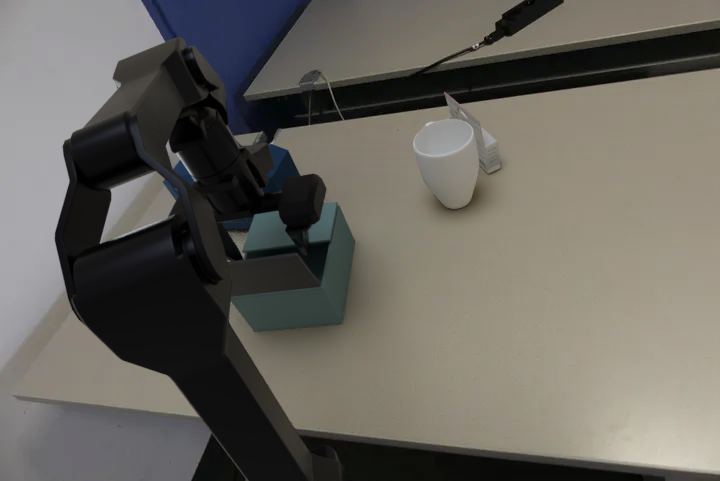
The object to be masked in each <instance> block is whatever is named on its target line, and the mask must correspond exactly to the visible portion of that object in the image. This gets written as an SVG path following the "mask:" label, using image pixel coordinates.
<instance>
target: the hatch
mask: <svg viewBox="0 0 720 481" xmlns="http://www.w3.org/2000/svg"><path fill="white" fill-rule="evenodd" d="M228 265H229V274H230V276H231V278H232V291H231V297H234V296H243V295H252V294H261V293H270V292H279V291H289V290H298V289H307V288H316V287H321V284H320V282H319V281H318V280H317V278H316V277H315V276H314V275H313V273H312V272H311V271H310V269H309V268H308V267H307V265H306V264H305V263H304V261H303V260H302V259H301V257H300V256H299V255H298V254H297V253H290V254H283V255H275V256H268V257H260V258H252V259H245V260H237V261H228Z"/></svg>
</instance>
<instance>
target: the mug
mask: <svg viewBox="0 0 720 481" xmlns="http://www.w3.org/2000/svg"><path fill="white" fill-rule="evenodd" d="M412 148H413V153H414V156H415V159H416V160H415V161H416V163H417V166H418V170H419V173H420V175H421V178H422V180H423V182H424V183H425V185H426V186H427V187H428V189H429V190H430V191H431V193H433V195H434V196H435V197H436V198H437V199H438V200H439V201H440V203H441V204H442V205H443V206H444V207H445V208H448V209H452V210H456V209H461V208H464V207H466V206H468V205H469V204H470V202H471V201H472V198H473V194H474V190H475V187H476V184H477V180H478V176H479V170H480V165H479V156H478V150H477V144H476V138H475V133H474V130H473V128H472V127H471V125H470V124H468V123H467V122H465V121H462V120H458V119H451V118H447V119H446V118H445V119H440V120H437V121H432V120H431V121H429V122H426V123H425V124H424V126H423V127H422V128H420V130H419V131H418V132H417V133H416V134H415V136H414V138H413V142H412Z"/></svg>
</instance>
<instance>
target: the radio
mask: <svg viewBox="0 0 720 481" xmlns="http://www.w3.org/2000/svg"><path fill="white" fill-rule="evenodd" d="M226 127H227V129H228V130H229V132H230V134H231V136H232V137H233V139H234V141H235V143H236V144H237V146H238V148H240V147H245V146H246V145H240V144H239V143H238V141H237V139H236V137H235V136H234V134H233V132H232V130H231V129H230V127H229V124H228V125H227V126H226ZM267 144H268V147H269V150H270V153H271V156H272V159H273V162H274V165H275V168H274V169H271V170H270V171H269V172H268V173H267V174H266V175H267V177H268V179H269V182H268V185H267V187H263V189H262V191H263V192H264V194H265V193H271V192H277V191H282V189H283V186H284V183H285V179H286V178H291V177H297V176H301V173H300V172H299V170H298V168H297V165H296V164H295V161H294V159H293V157H292V155H291V153H290V152H289V149H287V148H283V147H281V146H278V145H276V144H272V143H267ZM247 146H250V145H247ZM172 169H173V171H174V172H176V173H177V174H178V175H179V176H180V177H181V178H183V179H184V180H185V181H186V182H187V183H189V184H190V185H191V186H192V185H193V183H194V179H193V178H192V176H191V175H190V173H189V172H188V170H187V169H186V167H185V166H184V164H183V163H182V161H181V160H180V159H179V160H178V161H177V163H176V164H175V165H174V166H173V167H172ZM162 184H163V185H164V186H165V187H166V189H167V191H168V193H170V195H171V196H172V198H173V199H174V200H175V201H176V200H177V198H178V197H180V196H179V192H178V190H177V189H176V188H175V187H174V186H173V185H171V184H170V183H169V182H168V181H167V180H166V179H164V180H162ZM273 212H274V211H273ZM260 214H261V213H260ZM254 215H255V214H254ZM253 218H254V216H253V217H250V218H246V219H240V220H234V221H227V222H222V224H223V226H224V228H225V229H226V230H250V227H251V224H252V221H253Z"/></svg>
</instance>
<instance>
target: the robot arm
mask: <svg viewBox="0 0 720 481" xmlns="http://www.w3.org/2000/svg"><path fill="white" fill-rule="evenodd" d="M112 80H113V82H114V84H115V85H116V90H115V91H114V93H113V94H112V95H111V96H110V98H108V99H107V101H105V103H104V104H103V105H102V106H101V107H100V108H99V109H98V110H97V112H96V113H95V114H94V115H93V116H92V117H91V118H90V119H89V120H88V122H86V123H85V125H84V126H82V127H81V128H79V129H77V130H74V131H73V132H72V133H71V135H70V138H68V139H65V140H64V141H63V144H62V155H63V159H64V163H65V168H66V171H67V176H68V180H69V182H68V185H67V190H66V193H65V196H64V199H63V203H62V206H61V209H60V214H59V217H58V221H57V224H56V228H55V231H54V243H55V247H56V248H55V249H56V252H57V253H56V254H57V257H58V261H59V264H60V265H59V266H60V270H61V274H62V278H63V282H64V287H65V288H64V289H65V291H66V296H67V300H68V302H69V305H70V308H71V310H72V312H73V313H74V316H76V318H77V319H78V321H79V322H80V323H81V324H82V325H84V326H85V327H86V328H87V329H88V330H89V331H90V332H91V333H92V335H94V336H95V337H96V338H97V339H98V340H99V341H100V342H101V343H102V344H103V345H104V346H106V348H107V349H109V350H110V351H111V353H112V354H114V355H115V357H117V358H118V359H119V360H121V361H123V362H125V363H129V364H132V365H135V366H138V367H141V368H144V369H147V370H150V371H152V372H155V373H159V374H161V375H165V376H167V377H168V378H169V379H170V380H171V382H173V383H174V385H175V386H176V387H177V390H178V391H179V392H180V393H181V394H182V396H183V397H184V398H185V399H186V401H187V402H188V404H189V405H190V406H191V408H193V410H194V411H195V413H196V414H197V416H198V417H199V419H200V420H201V421H202V422H203V424H204V425H205V426H206V428H207V429H208V430H209V432H210V433H211V435H212V436H213V437H214V438H215V440H216V441H217V442H218V444H219V445H220V446H221V447H222V449H223V450H224V452H225V454H226V455H227V456H228V457H229V458H230V460H231V461H232V463H233V464H234V465H235V467H236V469H238V470H239V472H240V473H241V474H242V476H243V477H244V479H245V480H246V481H353V479H352V478H351V476H350V475H349V474H348V469H347V468H346V467H345V466H344V464H342V462H341V460H340V458H339V456H338V454H337V451H336V450H335V449H334V448H333V447H331V446H330V445H328V444H325V445H322V446H319V447H316V448H314V449H311V450H309V449H308V448H307V446H306V444H305V442H304V441H303V439H302V437H301V436H300V434H299V433H298V431H297V429H296V428H295V426H294V425H293V423H292V421H291V420H290V418H289V417H288V416H287V413H286V411H285V410H284V409H283V407H282V405H281V403H280V402H279V401H278V399H277V397H276V395H275V394H274V392H273V391H272V389H271V387H270V386H269V385H268V383H267V381H266V380H265V378H264V376H263V374H262V373H261V372H260V370H259V368H258V366H256V364H255V362H254V360H253V359H252V357H251V356H250V354H249V352H248V350H247V349H246V347H245V346H244V343H243V342H242V341H241V340H240V338H239V336H238V335H237V333H236V331H235V330H234V328H233V326H232V325H231V322H230V312H231V304H232V302H231V291H232V278H231V276H230V274H229V265H228V262H230V261H237V260H243V258H244V256H243V255H242V252H241V251H240V248H239V247H238V246H237V244H236V243H235V241H234V240H233V238H232V237H231V235H230V234H229V232H228V231H227V229H225V228H224V226H223V224H222V222H227V221H234V220H240V219H246V218H250V217H253V216H254V214H260V213H267V212H273V211H279V217H280V219H281V221H282V222H283V224H285V225H287V226H286V229H285V231H286V233H287V234H288V235H289V237H290V238H291V239H292V241H293V242H294V243H295V245H296V246H297V247H298V249H299V250H300V251H301V252H302V253H303V254H304V255H305V256H307V255H309V250H310V247H309V231H308V229H310V228H311V226H312V225H313V224H315V223H317V222H318V221H319V220H320V217H321V213H322V208H323V204H324V203H325V199H326V193H327V190H328V189H327V186H326V183H325V181H324V180H323V178H322V177H321V176H320V175H319V174H317V173H308V174H303V175H300V176H297V177H291V178H286V179H285V183H284V186H283V189H282V191H277V192H271V193H265V194H264V192H263V191H262V189H263V187H267V185H268V182H269V179H268V177H267V175H266V174H267V173H268V172H269V171H270V170H271V169H274V168H275V165H274V162H273V159H272V156H271V153H270V150H269V147H268V144H269V143H268V142H261V143H260V142H259V143H255V144H251V145H250V146H248V145H244V146H245V147H240V148H238V146H237V144H236V143H235V141H234V139H233V137H232V136H231V134H230V132H229V130H228V129H227V127H226V126H227V125H228V126H229V115H228V113H229V112H228V99H227V90H226V86H225V85H224V82H223V81H222V80H221V78H220V77H219V74H218V73H217V72H216V71H215V70H214V69H213V66H211V64H209V62H208V61H207V59H206V57H204V55H202V53H201V52H200V51H199V50H198V48H197V47H196V46H195V45H190V46H188V45H187V43H186V40H185V39H184V38H183V37H179V36H178V37H175V38H172V39H169V40H166V41H165V42H162V43H159V44H157V45H154V46H152V47H150V48H147V49H145V50H142V51H140V52H137V53H135V54H133V55H130V56H127V57H125V58H122V59H120V60H118V62H117V63H116V66H115V69H114V71H113V75H112ZM167 144H168V146H169V148H170V151H171V153H173V154H176V156H177V157H178V158H179V160H181V161H182V163H183V164H184V166H185V167H186V169H187V170H188V172H189V173H190V175H191V176H192V178H193V179H194V183H193V185H192V186H191V185H190V184H189V183H187V182H186V181H185V180H184V179H183V178H181V177H180V176H179V175H178V174H177V173H176V172H174V171H173V166H172V162H171V158H170V155H169V152H168V148H167ZM155 172H156V173H157V174H159V176H161V177H162V178H163V179H164V180H165V179H166V180H167V181H168V182H169V183H170V184H171V185H173V186H174V187H175V188H176V189H177V190H178V192H179V196H180V197H178V198H177V200H175V202H174V203H173V206H172V208H171V210H170V212H169V214H168V216H167V217H165V218H162V219H160V220H157V221H155V222H152V223H149V224H147V225H144V226H142V227H139V228H136V229H134V230H132V231H129V232H126V233H123V234H120V235H118V236H117V237H114V238H111V239H109V240H106V241H103V242H101V240H102V237H103V234H104V229H105V225H106V222H107V218H108V215H109V214H108V213H109V210H110V207H111V203H112V189H115V188H117V187H120V186H122V185H125V184H127V183H130V182H132V181H134V180H138V179H140V178H142V177H145V176H147V175H149V174H152V173H155Z"/></svg>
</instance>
